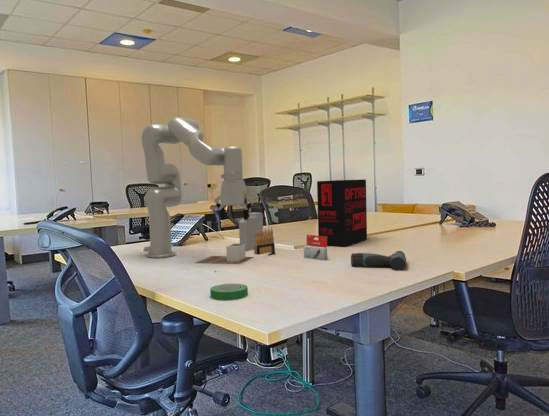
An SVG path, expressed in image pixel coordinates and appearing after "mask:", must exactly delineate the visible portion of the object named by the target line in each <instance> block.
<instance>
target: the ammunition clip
mask: <svg viewBox="0 0 549 416" xmlns="http://www.w3.org/2000/svg"><path fill="white" fill-rule="evenodd" d="M275 246H276V245H275V237H274V231H273V228H272V227H271V228H269V227H268V228H265V229H264V228H263V229H262V232H261V231H260V229H259V232H257V230H256V232H255V245H254V249H253V251H254V255H262V254H267V256H271V255H276V247H275ZM268 253H269V254H268Z"/></svg>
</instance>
